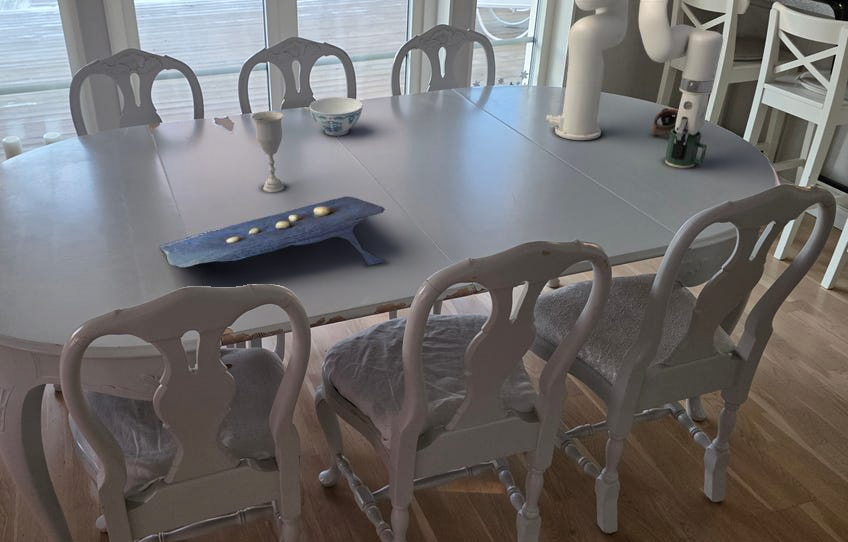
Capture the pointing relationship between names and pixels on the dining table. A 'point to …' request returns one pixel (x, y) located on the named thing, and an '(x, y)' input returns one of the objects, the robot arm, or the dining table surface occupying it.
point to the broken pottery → (665, 122)
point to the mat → (276, 233)
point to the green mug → (690, 152)
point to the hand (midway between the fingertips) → (682, 153)
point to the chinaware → (336, 114)
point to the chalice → (269, 143)
